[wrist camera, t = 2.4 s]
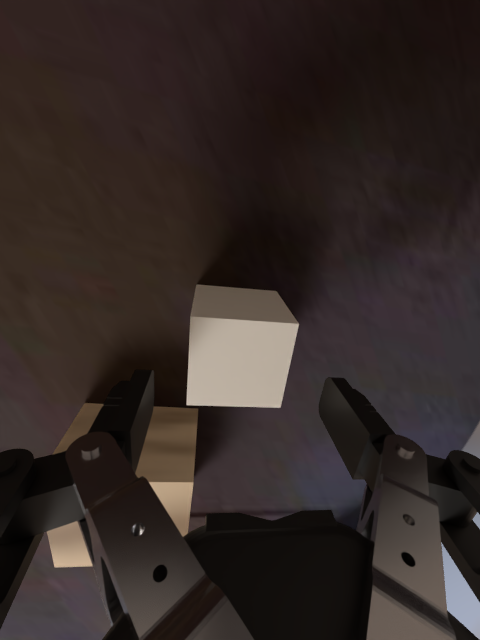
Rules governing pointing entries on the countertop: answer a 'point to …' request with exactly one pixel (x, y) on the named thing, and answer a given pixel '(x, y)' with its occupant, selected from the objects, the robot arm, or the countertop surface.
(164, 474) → the oak block
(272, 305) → the cream cube
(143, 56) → the countertop surface
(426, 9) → the countertop surface
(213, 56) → the countertop surface
